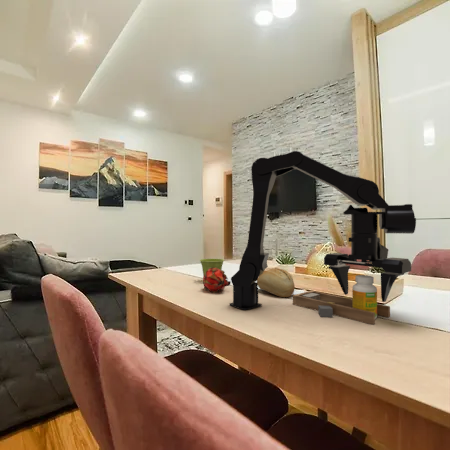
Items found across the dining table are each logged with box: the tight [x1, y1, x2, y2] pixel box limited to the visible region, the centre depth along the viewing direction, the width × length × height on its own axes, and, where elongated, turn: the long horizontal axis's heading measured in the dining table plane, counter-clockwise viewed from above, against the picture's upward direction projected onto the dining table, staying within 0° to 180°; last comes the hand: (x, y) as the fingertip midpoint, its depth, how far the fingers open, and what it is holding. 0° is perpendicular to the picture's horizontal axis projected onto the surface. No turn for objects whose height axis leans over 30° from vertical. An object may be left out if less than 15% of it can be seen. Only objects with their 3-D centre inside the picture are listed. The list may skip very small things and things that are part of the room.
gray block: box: [317, 305, 334, 318], centre depth 73 cm, size 3×3×2 cm
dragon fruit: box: [202, 267, 232, 294], centre depth 100 cm, size 8×8×12 cm
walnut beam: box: [292, 290, 391, 326], centre depth 77 cm, size 9×22×3 cm, turn 39°
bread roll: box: [256, 268, 296, 298], centre depth 96 cm, size 10×15×8 cm, turn 30°
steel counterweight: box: [302, 293, 320, 300], centre depth 83 cm, size 5×2×2 cm, turn 129°
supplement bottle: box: [351, 274, 378, 319], centre depth 72 cm, size 5×5×10 cm
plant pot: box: [199, 258, 225, 275], centre depth 115 cm, size 9×9×9 cm
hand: (364, 297), depth 72 cm, fingers open, 9 cm apart
